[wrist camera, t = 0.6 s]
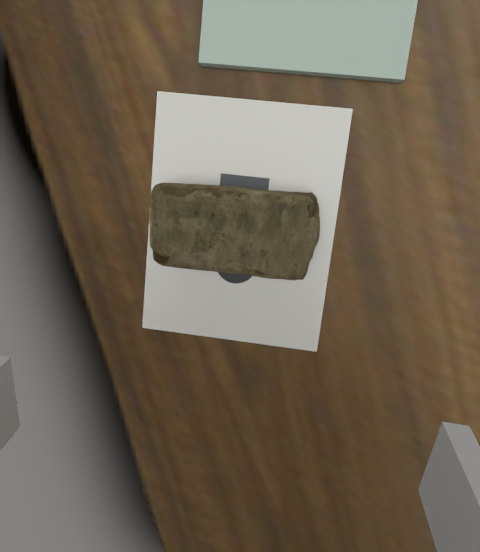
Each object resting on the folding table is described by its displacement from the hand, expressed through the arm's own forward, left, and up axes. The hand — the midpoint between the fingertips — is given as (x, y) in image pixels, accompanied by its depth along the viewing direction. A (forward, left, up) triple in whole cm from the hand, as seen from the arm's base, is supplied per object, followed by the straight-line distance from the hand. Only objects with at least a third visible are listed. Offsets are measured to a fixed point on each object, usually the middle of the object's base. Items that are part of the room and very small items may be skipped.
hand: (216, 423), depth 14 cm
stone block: (+4, +2, -21) cm, 21 cm away
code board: (+4, +2, -21) cm, 22 cm away
